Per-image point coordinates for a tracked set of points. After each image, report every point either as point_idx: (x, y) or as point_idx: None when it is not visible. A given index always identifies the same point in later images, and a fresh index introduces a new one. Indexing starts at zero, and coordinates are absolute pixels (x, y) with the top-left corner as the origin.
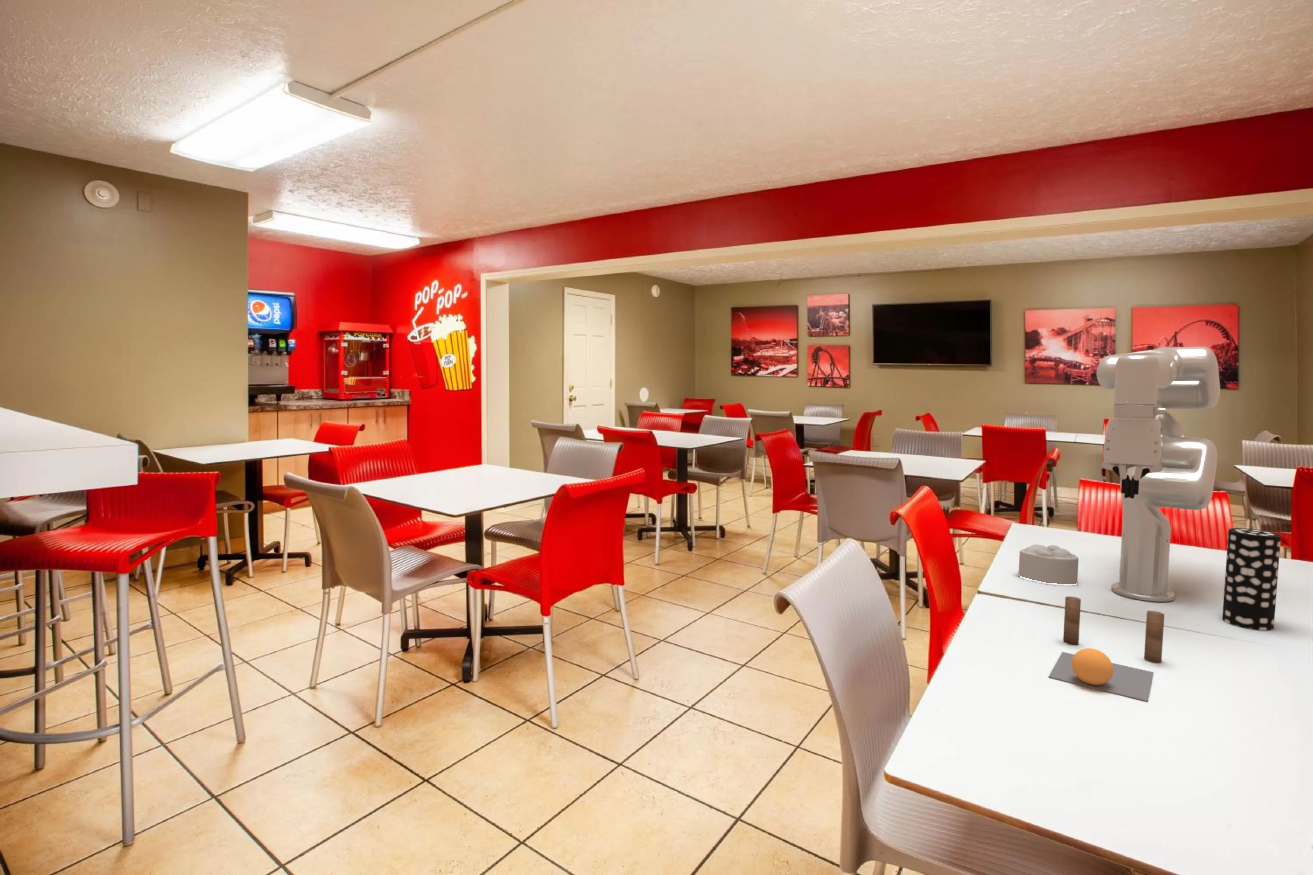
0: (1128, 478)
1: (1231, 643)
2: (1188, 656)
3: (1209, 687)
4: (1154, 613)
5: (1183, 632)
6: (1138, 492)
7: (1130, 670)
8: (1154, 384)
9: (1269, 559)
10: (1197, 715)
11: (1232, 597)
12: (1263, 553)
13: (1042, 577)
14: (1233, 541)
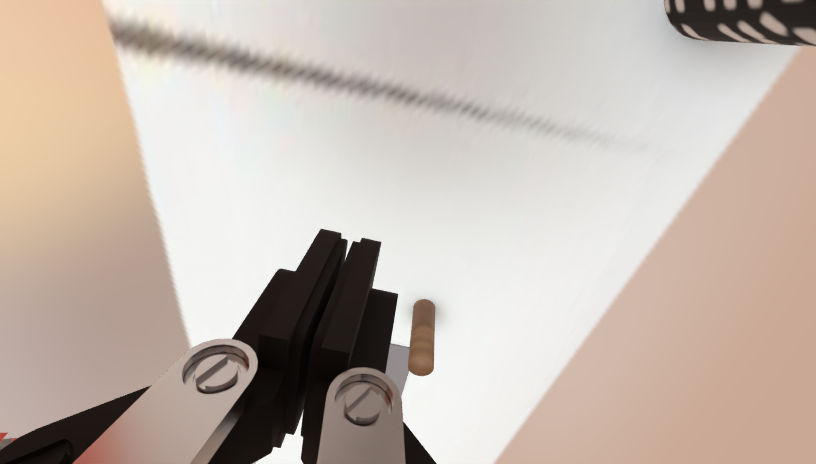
0: (276, 433)
1: (587, 176)
2: (480, 274)
3: (470, 364)
4: (418, 368)
5: (517, 146)
6: (397, 296)
7: (388, 354)
8: None
9: None
10: (435, 424)
11: (714, 13)
12: None
13: None
14: None
